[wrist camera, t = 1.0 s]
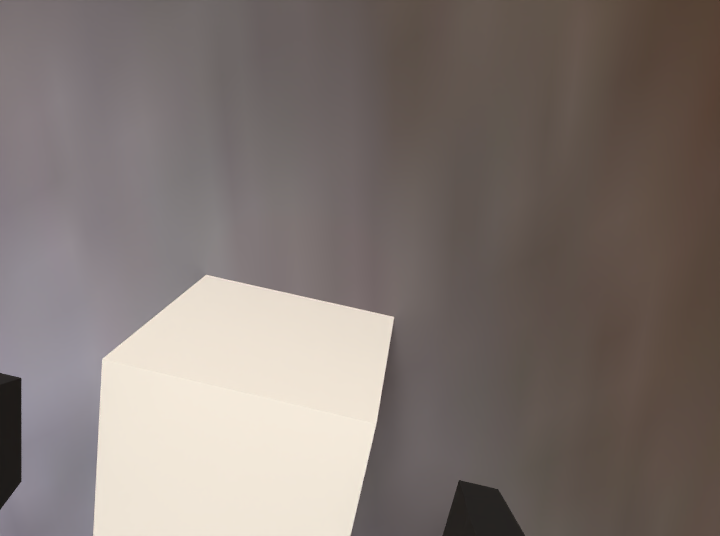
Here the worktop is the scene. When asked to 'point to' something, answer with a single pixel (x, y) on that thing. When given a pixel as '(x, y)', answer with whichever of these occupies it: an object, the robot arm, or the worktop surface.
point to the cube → (239, 416)
